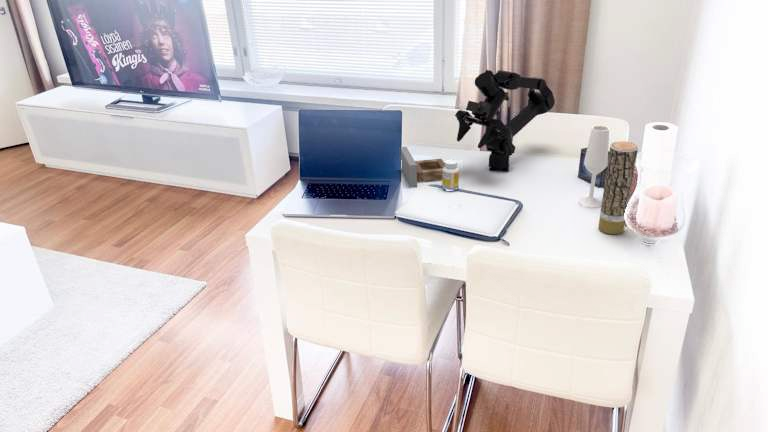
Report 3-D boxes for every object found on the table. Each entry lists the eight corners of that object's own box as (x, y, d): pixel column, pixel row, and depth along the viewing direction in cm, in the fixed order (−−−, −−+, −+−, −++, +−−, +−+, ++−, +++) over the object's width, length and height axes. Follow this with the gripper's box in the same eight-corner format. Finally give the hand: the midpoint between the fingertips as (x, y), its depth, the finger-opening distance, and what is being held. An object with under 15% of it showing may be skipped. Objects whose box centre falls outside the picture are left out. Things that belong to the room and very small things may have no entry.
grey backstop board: (406, 167, 211) (406, 146, 207) (417, 187, 195) (416, 164, 191) (400, 168, 211) (399, 147, 207) (410, 187, 195) (409, 165, 191)
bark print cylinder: (625, 236, 160) (640, 150, 149) (599, 234, 162) (612, 149, 151) (621, 224, 166) (635, 141, 155) (596, 223, 168) (608, 140, 157)
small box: (576, 177, 198) (579, 148, 193) (591, 173, 200) (594, 144, 196) (598, 188, 189) (602, 158, 185) (613, 184, 192) (618, 154, 187)
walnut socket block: (441, 169, 210) (441, 158, 208) (449, 180, 200) (449, 169, 198) (411, 171, 208) (411, 161, 206) (417, 183, 198) (417, 172, 197)
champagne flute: (591, 196, 184) (602, 123, 173) (606, 205, 178) (617, 129, 167) (574, 200, 182) (583, 126, 171) (588, 209, 176) (598, 133, 165)
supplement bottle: (443, 192, 190) (444, 165, 186) (440, 186, 195) (441, 159, 191) (460, 191, 191) (460, 164, 186) (456, 185, 196) (457, 158, 191)
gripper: (459, 85, 193) (435, 125, 192) (503, 96, 181) (478, 138, 179) (474, 104, 201) (451, 142, 200) (517, 115, 188) (493, 155, 187)
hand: (467, 144), depth 192 cm, fingers open, 9 cm apart
